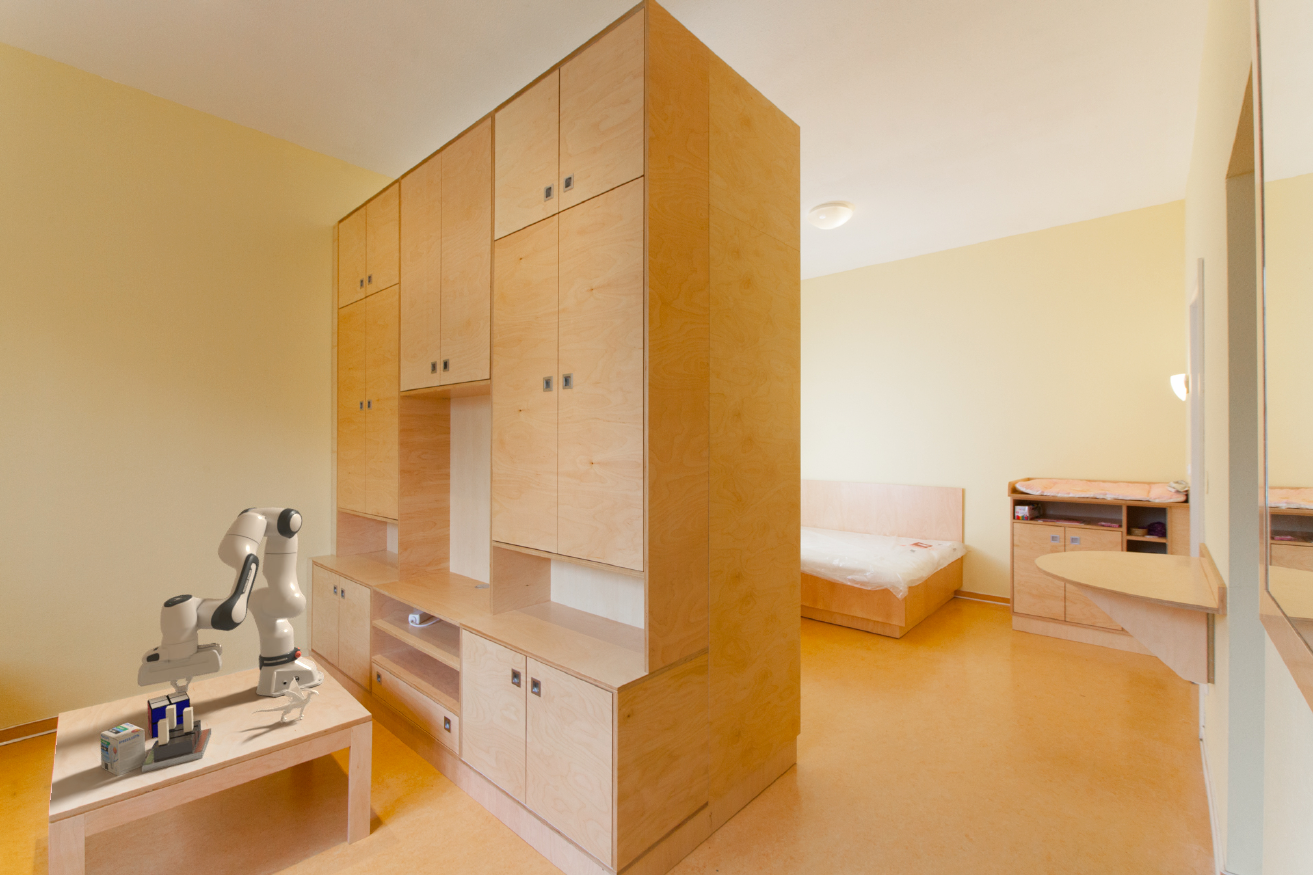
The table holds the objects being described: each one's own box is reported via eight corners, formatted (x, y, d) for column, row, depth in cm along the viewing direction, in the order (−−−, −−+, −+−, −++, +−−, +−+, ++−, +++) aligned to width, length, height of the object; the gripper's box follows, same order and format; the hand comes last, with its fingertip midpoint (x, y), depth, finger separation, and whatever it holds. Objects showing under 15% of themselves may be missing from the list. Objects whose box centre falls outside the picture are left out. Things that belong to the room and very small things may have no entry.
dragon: (316, 722, 194) (315, 685, 193) (246, 734, 186) (245, 696, 186) (322, 707, 204) (321, 672, 204) (256, 718, 197) (255, 681, 197)
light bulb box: (100, 767, 169) (99, 732, 169) (128, 755, 175) (127, 721, 175) (118, 776, 165) (117, 740, 164) (146, 764, 171) (145, 728, 171)
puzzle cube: (151, 739, 185) (150, 709, 184) (147, 728, 191) (147, 699, 191) (191, 727, 192) (190, 698, 192) (185, 717, 199) (185, 689, 199)
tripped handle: (193, 727, 180) (192, 706, 179) (191, 730, 177) (191, 709, 177) (185, 729, 178) (184, 708, 178) (183, 732, 176) (183, 711, 176)
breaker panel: (211, 733, 187) (210, 716, 187) (202, 757, 173) (201, 738, 173) (155, 746, 180) (155, 728, 180) (142, 772, 166) (141, 752, 166)
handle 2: (176, 724, 181) (175, 704, 181) (174, 728, 179) (174, 707, 179) (168, 726, 180) (167, 705, 180) (166, 730, 178) (165, 709, 178)
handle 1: (169, 739, 173) (168, 717, 172) (167, 743, 171) (166, 721, 170) (160, 741, 172) (159, 719, 171) (158, 745, 170) (157, 723, 169)
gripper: (223, 638, 185) (225, 679, 185) (140, 652, 175) (142, 696, 175) (220, 644, 179) (221, 687, 180) (134, 659, 169) (136, 704, 170)
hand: (182, 691), depth 177 cm, fingers closed
